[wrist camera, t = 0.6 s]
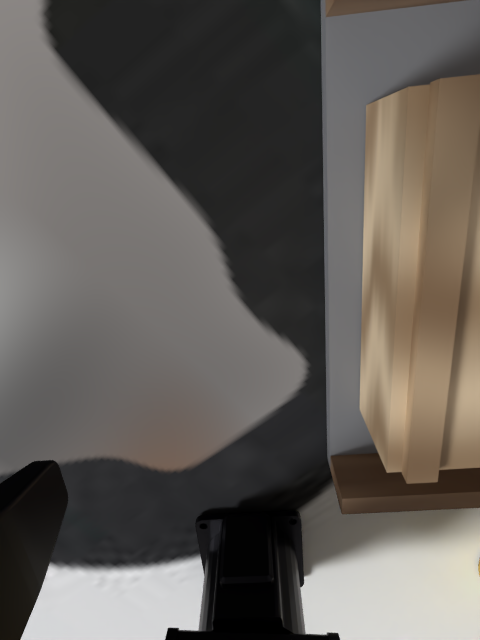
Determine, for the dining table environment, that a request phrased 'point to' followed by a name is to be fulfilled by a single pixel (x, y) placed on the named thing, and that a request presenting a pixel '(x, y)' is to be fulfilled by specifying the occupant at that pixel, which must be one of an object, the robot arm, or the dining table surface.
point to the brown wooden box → (422, 278)
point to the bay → (348, 218)
